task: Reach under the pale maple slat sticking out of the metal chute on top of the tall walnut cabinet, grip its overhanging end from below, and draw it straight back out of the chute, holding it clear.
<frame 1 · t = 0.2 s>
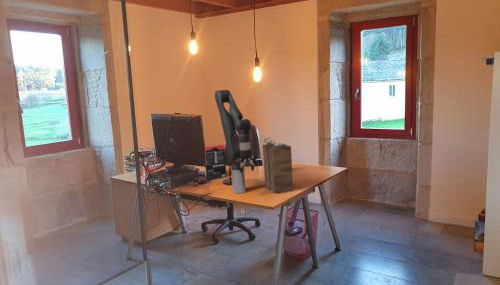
hand: (247, 171, 264), 17 cm above the table, tool pointing down, fingers open, 8 cm apart
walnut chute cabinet: (278, 188, 278), on the table
graphics card box: (216, 178, 319), on the table
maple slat: (273, 144, 277), point 32 cm above the table, touching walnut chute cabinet
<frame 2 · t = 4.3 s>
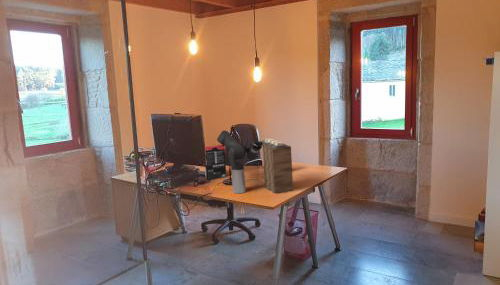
hand: (261, 140, 300), 31 cm above the table, tool pointing upward, fingers open, 8 cm apart
graphics card box: (216, 178, 319), on the table, touching arm
everything else where it was.
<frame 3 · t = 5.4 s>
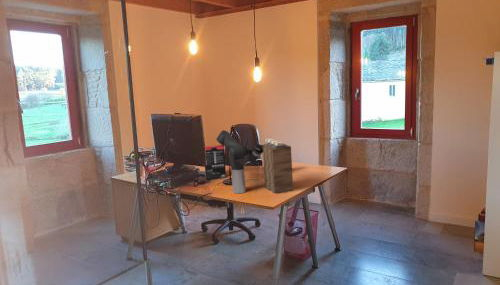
hand: (264, 144, 295), 29 cm above the table, tool pointing upward, fingers open, 8 cm apart
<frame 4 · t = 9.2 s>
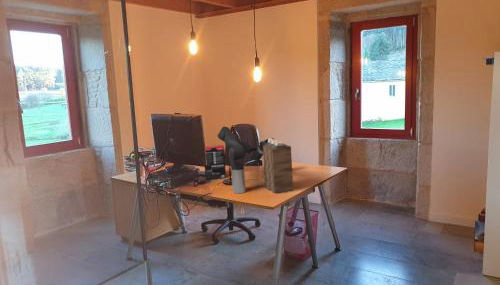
hand: (270, 139, 281), 35 cm above the table, tool pointing upward, fingers closed on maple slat, 4 cm apart
graphics card box: (216, 178, 318), on the table
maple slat: (273, 144, 277), point 32 cm above the table, touching gripper, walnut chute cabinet
everything else where it was.
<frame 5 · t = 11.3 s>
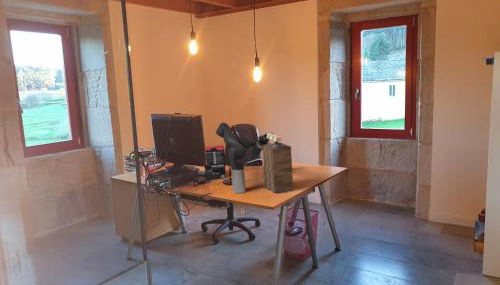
hand: (269, 134, 282), 39 cm above the table, tool pointing upward, fingers closed on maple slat, 4 cm apart
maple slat: (271, 138, 278), point 36 cm above the table, touching gripper
everything else where it was.
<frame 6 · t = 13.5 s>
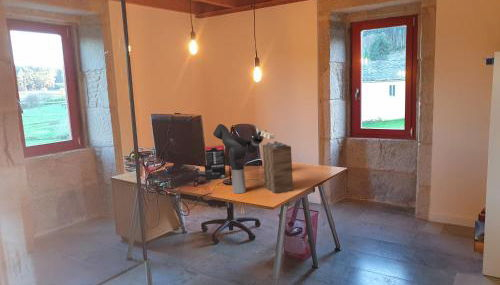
hand: (263, 131, 293), 39 cm above the table, tool pointing upward, fingers closed on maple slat, 4 cm apart
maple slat: (265, 136, 289), point 36 cm above the table, touching gripper
everything else where it was.
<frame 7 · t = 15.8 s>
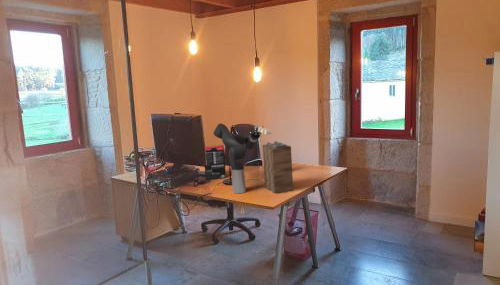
hand: (260, 127, 298), 41 cm above the table, tool pointing upward, fingers closed on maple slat, 4 cm apart
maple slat: (262, 132, 294), point 38 cm above the table, touching gripper
everything else where it was.
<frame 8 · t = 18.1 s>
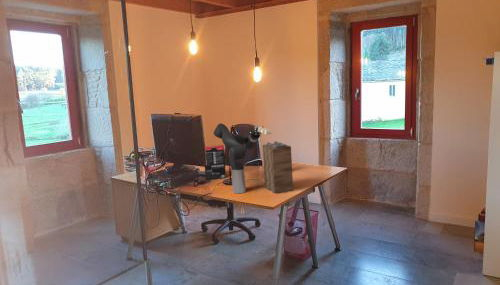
hand: (260, 127, 297), 41 cm above the table, tool pointing upward, fingers closed on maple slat, 4 cm apart
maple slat: (262, 132, 294), point 38 cm above the table, touching gripper
everything else where it was.
at the end: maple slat moved 20.0 cm from its start; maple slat touching gripper; the gripper is holding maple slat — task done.
